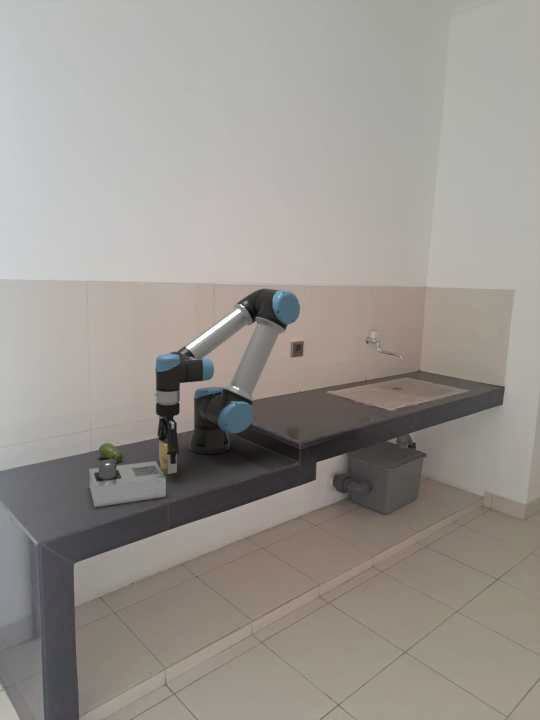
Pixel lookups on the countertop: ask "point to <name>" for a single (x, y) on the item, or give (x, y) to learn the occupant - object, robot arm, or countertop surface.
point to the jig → (126, 482)
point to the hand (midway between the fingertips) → (167, 465)
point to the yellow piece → (164, 457)
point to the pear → (110, 452)
